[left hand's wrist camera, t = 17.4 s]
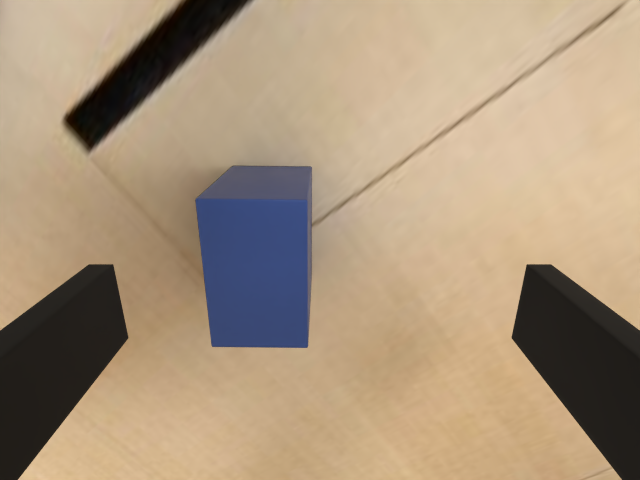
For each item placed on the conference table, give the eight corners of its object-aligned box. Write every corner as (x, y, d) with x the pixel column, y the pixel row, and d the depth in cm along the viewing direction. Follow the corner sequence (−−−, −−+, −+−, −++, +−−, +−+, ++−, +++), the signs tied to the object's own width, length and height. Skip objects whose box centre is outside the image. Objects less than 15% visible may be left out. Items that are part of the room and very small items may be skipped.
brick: (240, 278, 29) (211, 347, 21) (232, 165, 26) (194, 198, 18) (311, 279, 29) (308, 348, 21) (311, 166, 26) (307, 199, 18)
